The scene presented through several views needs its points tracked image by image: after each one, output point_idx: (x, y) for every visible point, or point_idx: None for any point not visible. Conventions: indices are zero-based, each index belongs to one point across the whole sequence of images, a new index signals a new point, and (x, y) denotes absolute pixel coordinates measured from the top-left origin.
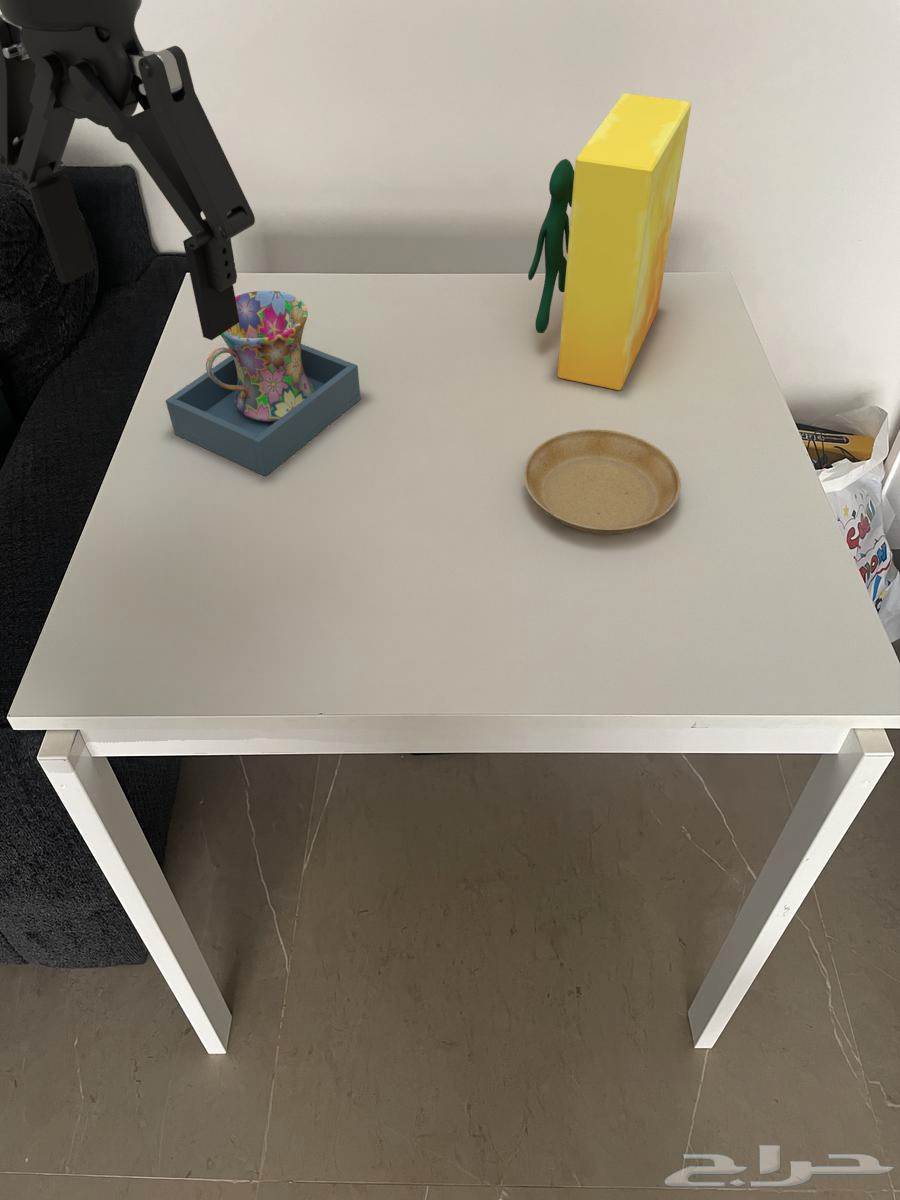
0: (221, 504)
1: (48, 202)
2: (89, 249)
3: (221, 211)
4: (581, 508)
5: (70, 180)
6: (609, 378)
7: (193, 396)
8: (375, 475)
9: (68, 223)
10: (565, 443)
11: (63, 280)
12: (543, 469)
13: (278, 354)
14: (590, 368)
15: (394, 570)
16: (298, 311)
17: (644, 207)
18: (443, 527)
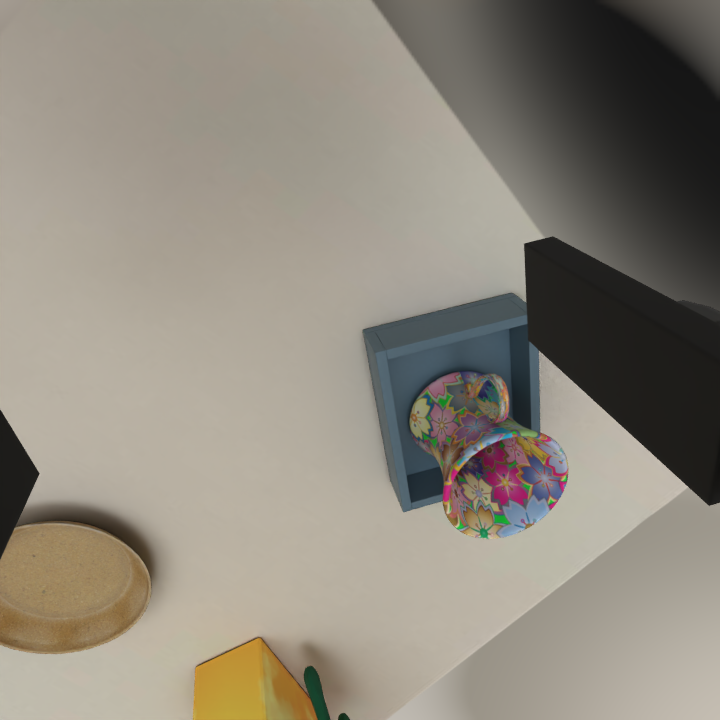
0: (361, 260)
1: (681, 370)
2: (554, 362)
3: None
4: (53, 548)
5: (698, 495)
6: (206, 672)
7: (523, 343)
8: (268, 422)
9: (614, 370)
10: (142, 593)
11: (536, 243)
12: (131, 554)
13: (446, 460)
14: (226, 670)
15: (107, 345)
16: (480, 524)
17: None
18: (135, 427)
